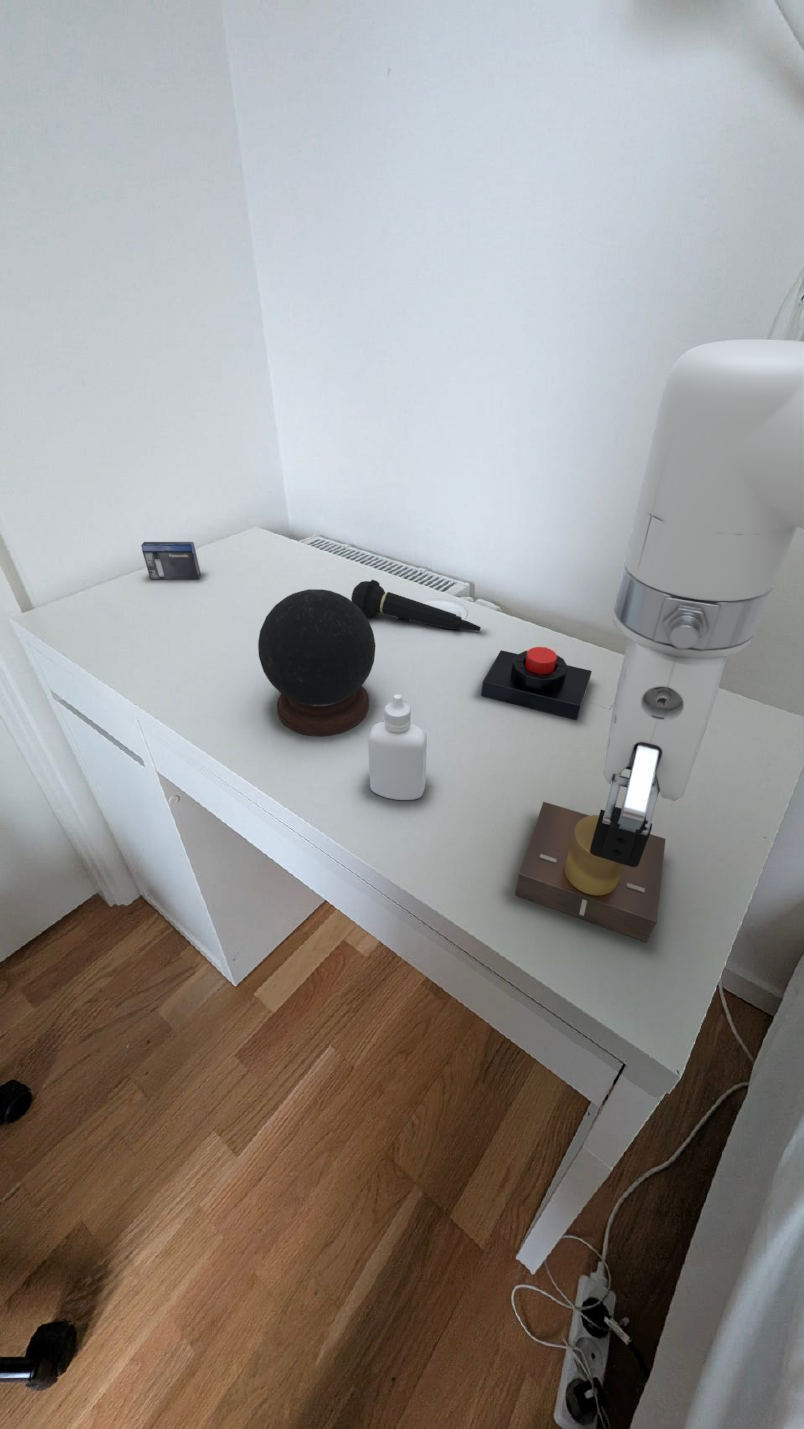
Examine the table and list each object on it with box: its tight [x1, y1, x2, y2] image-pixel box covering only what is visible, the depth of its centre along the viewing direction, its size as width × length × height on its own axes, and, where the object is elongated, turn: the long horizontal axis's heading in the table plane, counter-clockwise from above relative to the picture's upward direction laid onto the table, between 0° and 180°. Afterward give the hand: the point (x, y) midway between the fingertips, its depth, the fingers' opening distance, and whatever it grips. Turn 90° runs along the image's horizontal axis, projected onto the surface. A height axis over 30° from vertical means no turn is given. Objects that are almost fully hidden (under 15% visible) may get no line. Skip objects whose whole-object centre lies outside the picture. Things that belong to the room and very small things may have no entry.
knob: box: [564, 814, 625, 895], centre depth 47 cm, size 4×4×5 cm
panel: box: [514, 801, 667, 943], centre depth 50 cm, size 11×11×3 cm
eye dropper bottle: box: [367, 694, 428, 801], centre depth 56 cm, size 4×6×12 cm
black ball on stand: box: [257, 588, 376, 737], centre depth 66 cm, size 13×13×15 cm
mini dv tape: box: [140, 541, 202, 580], centre depth 97 cm, size 8×2×6 cm, turn 90°
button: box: [525, 646, 558, 674], centre depth 71 cm, size 4×4×2 cm
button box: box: [480, 649, 593, 721], centre depth 73 cm, size 12×8×4 cm, turn 66°
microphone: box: [350, 579, 482, 632], centre depth 86 cm, size 6×6×20 cm
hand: (622, 809), depth 43 cm, fingers open, 9 cm apart
